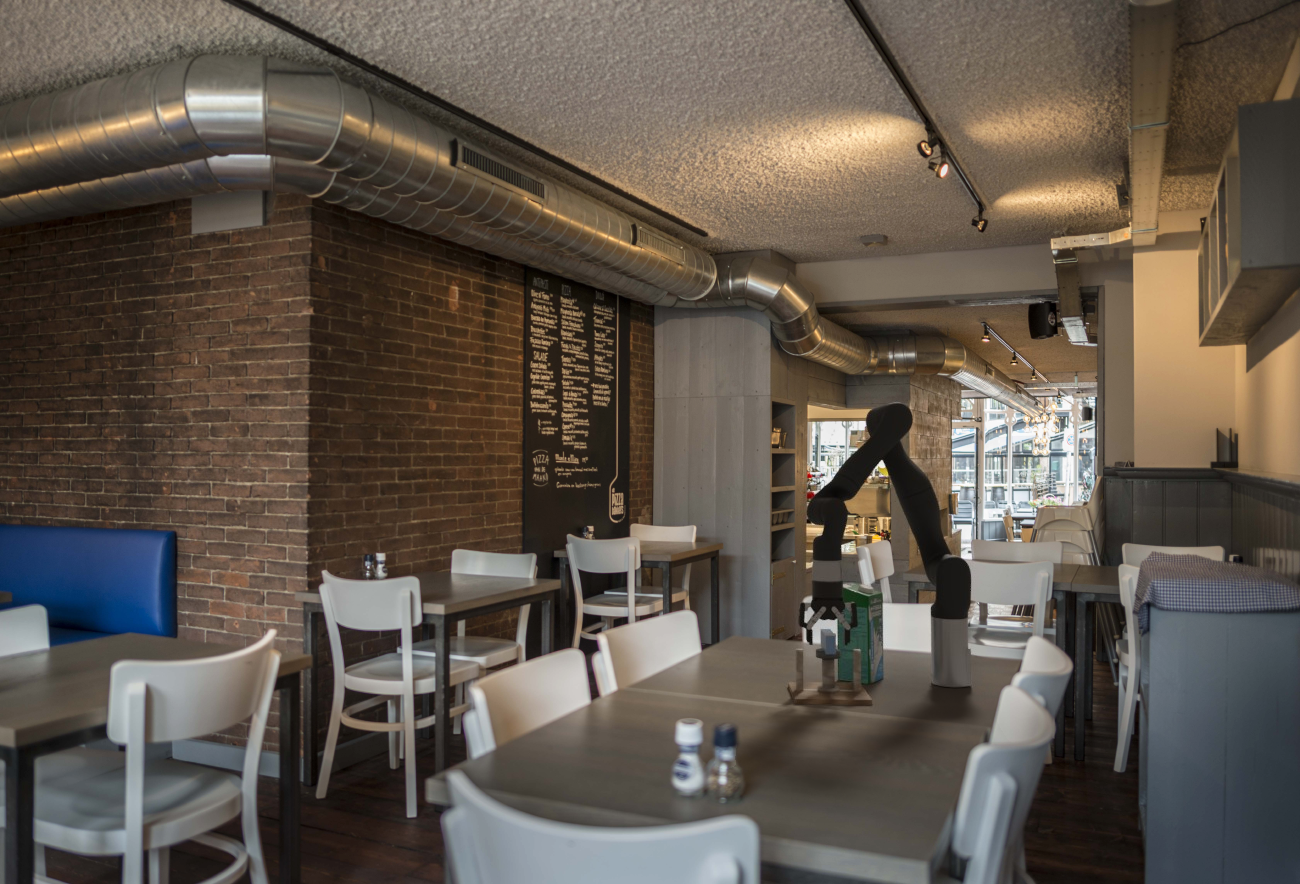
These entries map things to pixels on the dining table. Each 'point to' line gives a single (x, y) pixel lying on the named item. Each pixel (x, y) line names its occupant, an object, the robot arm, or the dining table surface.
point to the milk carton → (862, 634)
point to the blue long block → (828, 646)
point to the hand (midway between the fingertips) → (828, 644)
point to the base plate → (829, 696)
